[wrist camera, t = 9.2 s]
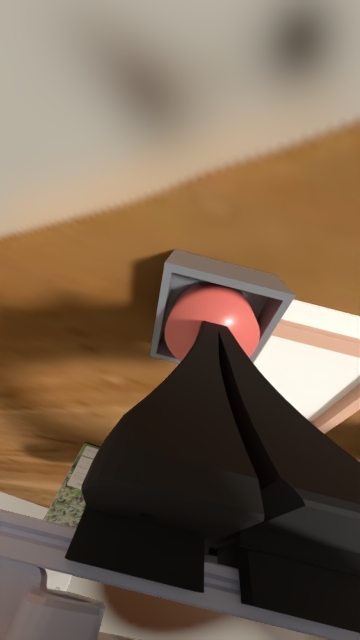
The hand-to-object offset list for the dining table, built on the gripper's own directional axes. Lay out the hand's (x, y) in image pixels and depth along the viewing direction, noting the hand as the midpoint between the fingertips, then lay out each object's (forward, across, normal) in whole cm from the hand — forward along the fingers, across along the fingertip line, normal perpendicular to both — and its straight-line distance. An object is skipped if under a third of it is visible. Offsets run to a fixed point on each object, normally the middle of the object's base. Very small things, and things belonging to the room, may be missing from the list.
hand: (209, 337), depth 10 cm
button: (+2, 0, 0) cm, 2 cm away
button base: (+4, 0, 0) cm, 4 cm away
